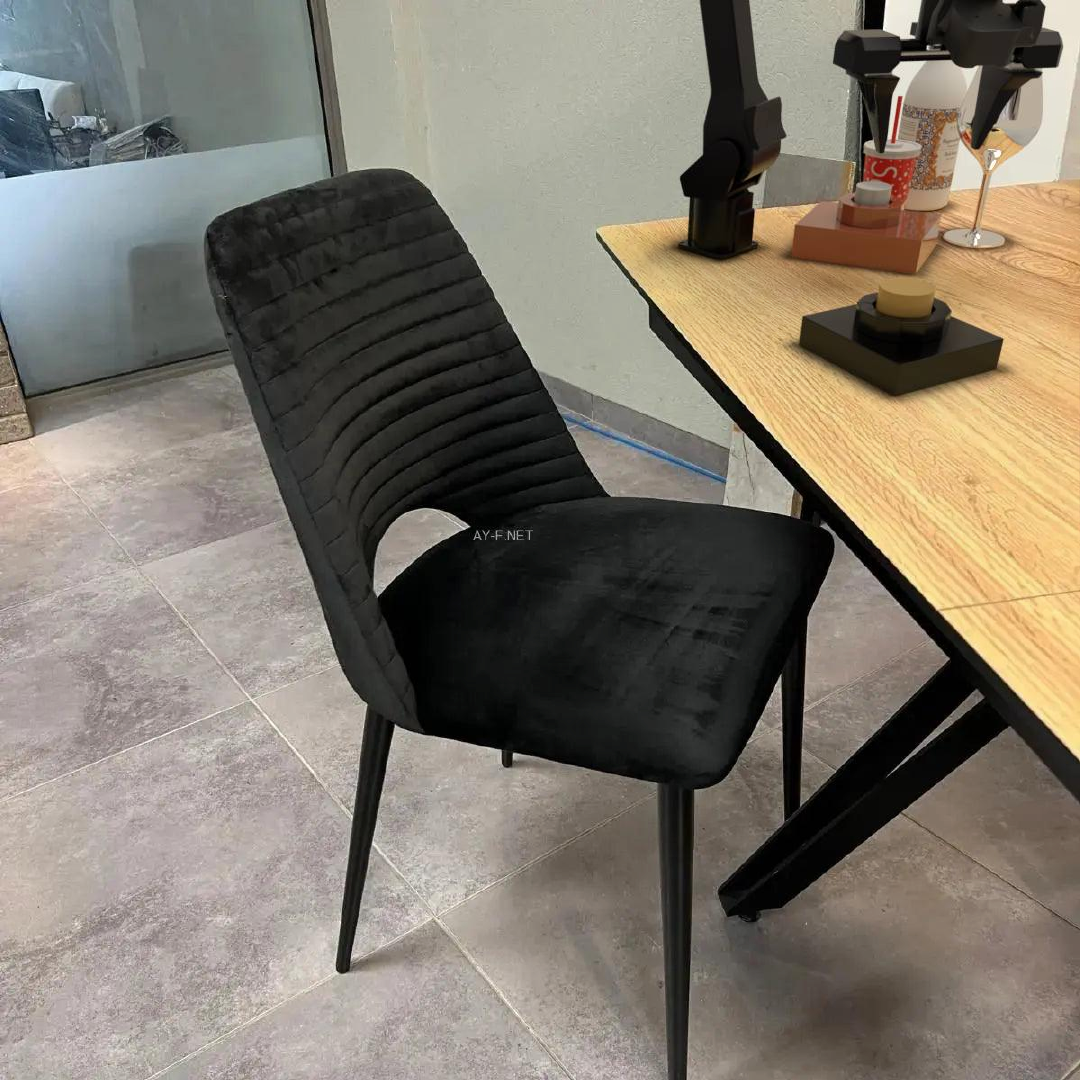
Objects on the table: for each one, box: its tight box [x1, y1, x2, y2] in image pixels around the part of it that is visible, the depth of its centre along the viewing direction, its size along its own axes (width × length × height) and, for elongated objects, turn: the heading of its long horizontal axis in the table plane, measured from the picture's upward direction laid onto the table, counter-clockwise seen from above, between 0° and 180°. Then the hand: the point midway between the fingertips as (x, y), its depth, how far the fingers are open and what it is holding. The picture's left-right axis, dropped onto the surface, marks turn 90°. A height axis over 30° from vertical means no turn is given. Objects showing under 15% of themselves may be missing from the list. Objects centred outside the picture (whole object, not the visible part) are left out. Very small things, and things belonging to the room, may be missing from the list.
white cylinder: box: [854, 181, 892, 206], centre depth 107 cm, size 4×4×2 cm
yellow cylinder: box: [876, 276, 937, 318], centre depth 85 cm, size 4×4×2 cm
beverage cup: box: [862, 95, 921, 210], centre depth 114 cm, size 6×6×14 cm
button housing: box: [790, 192, 942, 275], centre depth 109 cm, size 13×10×6 cm
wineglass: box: [942, 66, 1044, 249], centre depth 108 cm, size 8×8×18 cm
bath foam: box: [897, 60, 968, 212], centre depth 120 cm, size 7×7×20 cm
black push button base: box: [798, 291, 1005, 397], centre depth 86 cm, size 12×11×4 cm
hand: (927, 150), depth 96 cm, fingers open, 9 cm apart
